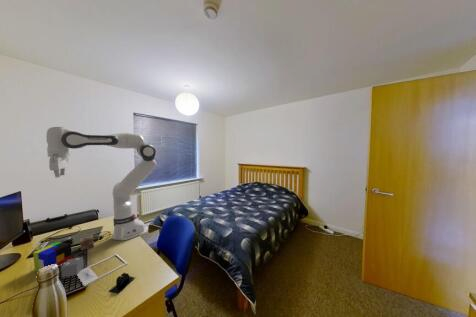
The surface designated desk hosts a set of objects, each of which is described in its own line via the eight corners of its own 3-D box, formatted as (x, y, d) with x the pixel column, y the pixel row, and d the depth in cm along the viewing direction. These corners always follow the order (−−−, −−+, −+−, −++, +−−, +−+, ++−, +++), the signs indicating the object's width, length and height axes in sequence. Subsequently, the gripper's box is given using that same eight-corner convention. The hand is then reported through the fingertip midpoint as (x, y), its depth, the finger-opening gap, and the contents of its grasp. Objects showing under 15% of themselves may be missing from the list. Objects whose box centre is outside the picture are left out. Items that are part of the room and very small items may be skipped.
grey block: (83, 267, 88) (83, 256, 88) (77, 275, 83) (76, 263, 82) (69, 270, 86) (68, 258, 86) (61, 278, 81) (61, 266, 80)
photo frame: (75, 272, 84) (116, 253, 99) (75, 274, 84) (116, 255, 99) (84, 285, 76) (127, 262, 91) (84, 287, 76) (127, 264, 91)
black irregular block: (128, 274, 84) (128, 265, 84) (140, 276, 82) (140, 268, 82) (103, 295, 72) (103, 285, 72) (116, 298, 70) (116, 288, 70)
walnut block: (93, 243, 111) (92, 234, 111) (93, 247, 107) (93, 237, 107) (80, 247, 107) (80, 237, 107) (81, 251, 103) (80, 241, 102)
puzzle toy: (48, 273, 84) (47, 254, 84) (34, 270, 86) (33, 252, 86) (72, 260, 94) (70, 243, 94) (58, 258, 96) (57, 241, 96)
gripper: (60, 154, 93) (62, 178, 94) (70, 153, 110) (71, 173, 111) (44, 154, 90) (46, 179, 91) (56, 153, 107) (58, 174, 107)
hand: (60, 176), depth 101 cm, fingers open, 8 cm apart
